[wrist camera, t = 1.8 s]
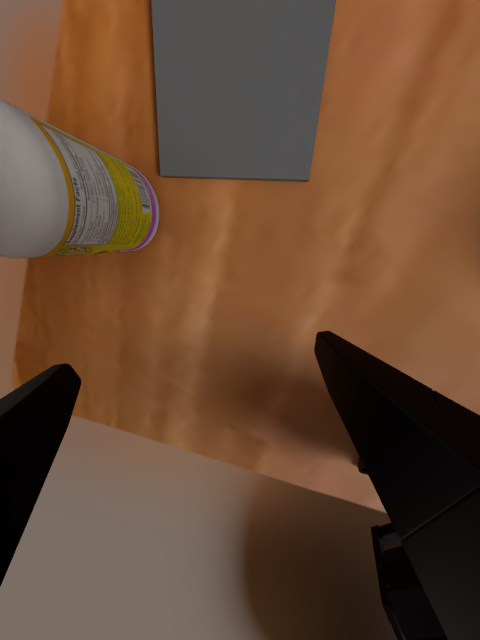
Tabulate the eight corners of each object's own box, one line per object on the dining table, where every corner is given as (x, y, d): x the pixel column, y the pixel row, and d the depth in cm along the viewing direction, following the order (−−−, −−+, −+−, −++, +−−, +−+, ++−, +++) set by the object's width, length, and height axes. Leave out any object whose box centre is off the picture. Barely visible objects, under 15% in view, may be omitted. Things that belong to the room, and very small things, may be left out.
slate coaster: (307, 181, 15) (308, 179, 15) (163, 177, 17) (160, 175, 17) (343, -56, 12) (346, -68, 11) (153, -32, 13) (149, -43, 13)
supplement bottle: (83, 226, 20) (-225, 201, 8) (102, 147, 17) (-310, -75, 5) (147, 266, 20) (-58, 300, 8) (175, 192, 17) (-63, 77, 5)
